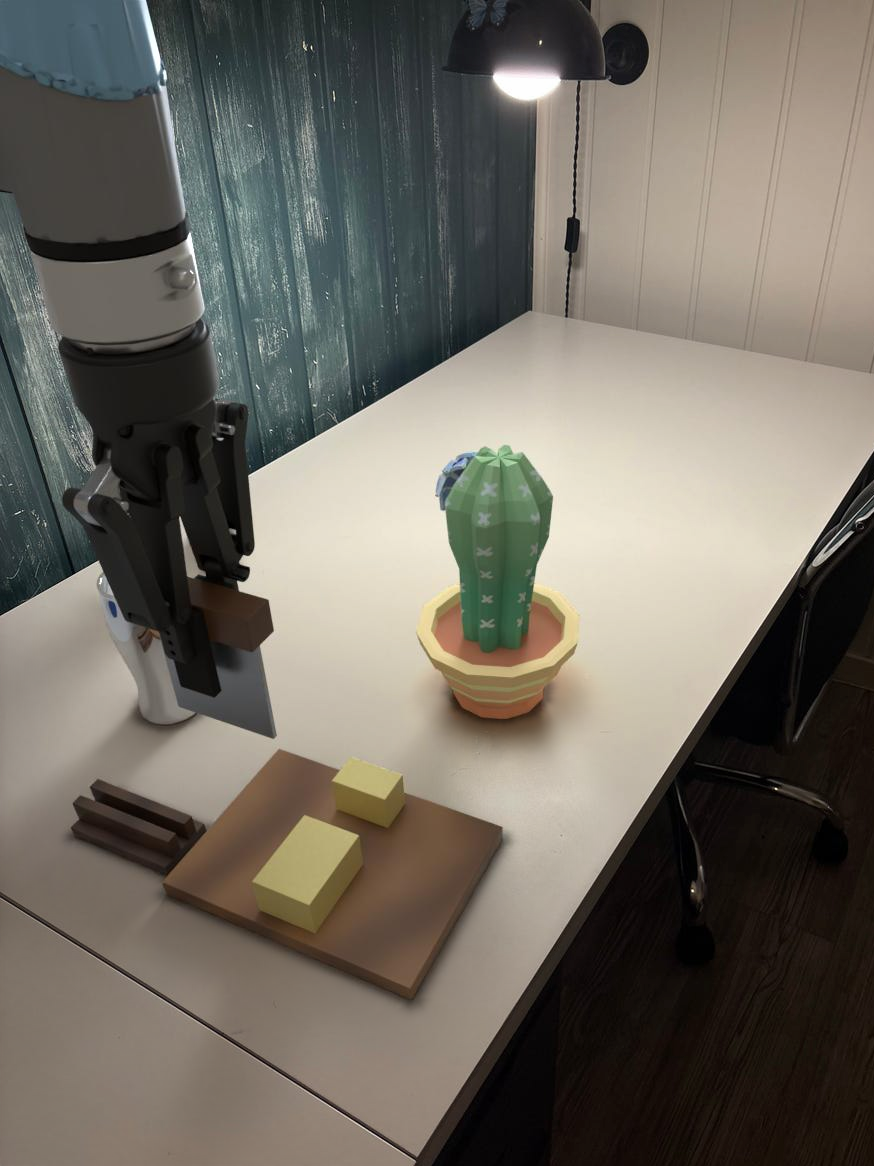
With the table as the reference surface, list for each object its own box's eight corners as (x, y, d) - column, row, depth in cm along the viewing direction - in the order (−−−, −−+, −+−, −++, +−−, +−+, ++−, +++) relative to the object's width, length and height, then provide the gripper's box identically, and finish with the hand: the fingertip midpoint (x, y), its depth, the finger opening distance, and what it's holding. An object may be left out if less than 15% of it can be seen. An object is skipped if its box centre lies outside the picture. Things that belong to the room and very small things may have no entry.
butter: (259, 910, 72) (251, 881, 69) (310, 843, 77) (304, 814, 74) (315, 934, 70) (309, 905, 68) (363, 864, 75) (359, 835, 73)
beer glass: (121, 720, 90) (77, 592, 81) (161, 674, 96) (123, 549, 86) (185, 734, 89) (148, 606, 79) (222, 687, 94) (191, 561, 84)
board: (165, 893, 75) (161, 882, 74) (281, 759, 86) (278, 748, 85) (411, 1000, 67) (410, 988, 66) (503, 838, 79) (503, 826, 78)
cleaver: (163, 713, 66) (126, 585, 59) (185, 692, 68) (151, 565, 61) (271, 751, 63) (246, 620, 57) (291, 728, 65) (268, 599, 58)
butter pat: (336, 809, 79) (331, 780, 77) (354, 785, 81) (350, 756, 79) (388, 828, 78) (384, 799, 75) (405, 803, 80) (403, 774, 78)
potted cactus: (559, 632, 100) (569, 411, 84) (594, 733, 88) (613, 497, 72) (413, 646, 98) (396, 424, 83) (428, 752, 86) (412, 515, 71)
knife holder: (73, 835, 80) (62, 811, 78) (114, 794, 83) (105, 770, 81) (168, 875, 76) (159, 851, 74) (206, 831, 80) (199, 807, 78)
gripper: (83, 398, 42) (188, 769, 56) (279, 288, 53) (325, 623, 67) (-43, 370, 44) (90, 733, 59) (170, 271, 55) (237, 597, 70)
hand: (215, 673), depth 63 cm, fingers closed on cleaver, 2 cm apart
